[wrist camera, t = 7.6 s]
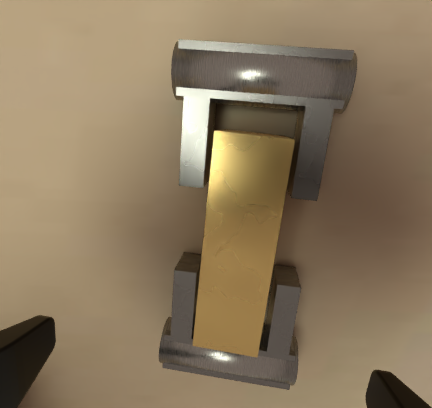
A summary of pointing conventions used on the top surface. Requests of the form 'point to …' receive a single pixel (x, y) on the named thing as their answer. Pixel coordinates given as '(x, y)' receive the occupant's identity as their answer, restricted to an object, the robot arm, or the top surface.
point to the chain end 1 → (261, 100)
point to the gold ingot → (240, 238)
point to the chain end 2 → (224, 361)
